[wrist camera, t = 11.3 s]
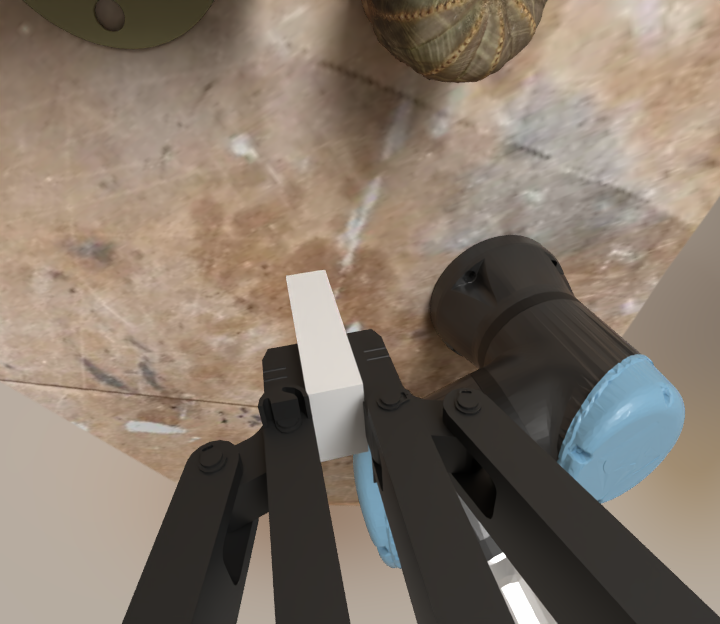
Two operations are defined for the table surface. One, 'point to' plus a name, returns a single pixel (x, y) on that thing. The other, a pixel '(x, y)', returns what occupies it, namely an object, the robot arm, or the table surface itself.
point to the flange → (142, 20)
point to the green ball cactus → (454, 34)
